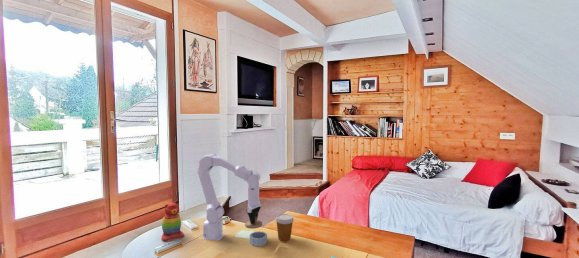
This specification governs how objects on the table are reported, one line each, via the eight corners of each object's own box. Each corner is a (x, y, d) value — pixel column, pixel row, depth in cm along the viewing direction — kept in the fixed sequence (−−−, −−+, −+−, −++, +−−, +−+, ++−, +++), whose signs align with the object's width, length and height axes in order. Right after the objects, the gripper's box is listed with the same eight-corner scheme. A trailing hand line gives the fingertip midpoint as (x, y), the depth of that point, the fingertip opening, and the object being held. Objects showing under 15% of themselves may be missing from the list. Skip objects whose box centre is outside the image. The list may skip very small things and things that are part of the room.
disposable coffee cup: (291, 244, 137) (291, 221, 136) (273, 242, 139) (273, 219, 138) (294, 236, 146) (295, 214, 146) (277, 234, 148) (278, 212, 148)
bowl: (247, 246, 135) (247, 238, 134) (252, 238, 143) (253, 230, 143) (264, 247, 133) (264, 239, 133) (269, 240, 141) (269, 232, 141)
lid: (242, 227, 138) (241, 219, 138) (249, 220, 147) (248, 212, 146) (258, 229, 136) (258, 220, 135) (264, 222, 144) (264, 214, 144)
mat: (234, 238, 143) (234, 236, 143) (240, 231, 152) (240, 230, 152) (250, 239, 141) (250, 238, 141) (256, 232, 150) (256, 231, 150)
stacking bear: (163, 242, 137) (163, 207, 136) (158, 235, 145) (158, 202, 144) (185, 237, 144) (185, 203, 143) (179, 230, 152) (179, 199, 151)
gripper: (256, 200, 133) (256, 227, 133) (265, 192, 147) (264, 217, 147) (243, 199, 134) (243, 226, 134) (252, 191, 148) (252, 216, 149)
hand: (253, 221), depth 141 cm, fingers closed on lid, 3 cm apart
